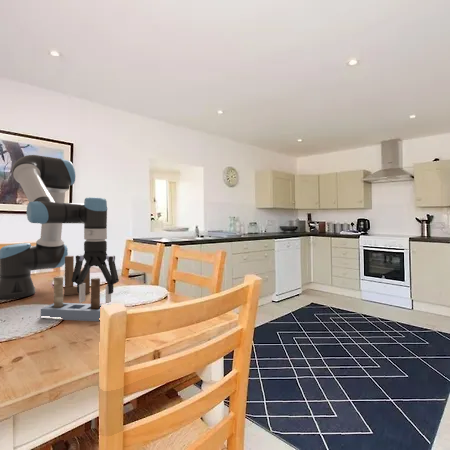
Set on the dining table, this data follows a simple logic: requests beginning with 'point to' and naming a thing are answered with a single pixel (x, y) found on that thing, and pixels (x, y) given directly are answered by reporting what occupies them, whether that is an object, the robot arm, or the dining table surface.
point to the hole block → (72, 312)
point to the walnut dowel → (95, 293)
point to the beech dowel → (58, 292)
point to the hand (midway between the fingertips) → (95, 301)
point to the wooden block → (69, 271)
